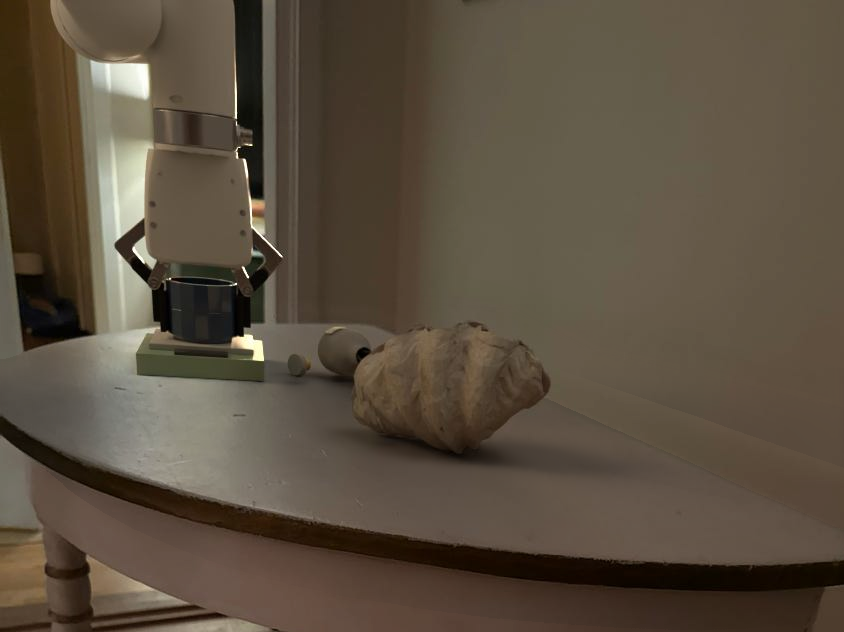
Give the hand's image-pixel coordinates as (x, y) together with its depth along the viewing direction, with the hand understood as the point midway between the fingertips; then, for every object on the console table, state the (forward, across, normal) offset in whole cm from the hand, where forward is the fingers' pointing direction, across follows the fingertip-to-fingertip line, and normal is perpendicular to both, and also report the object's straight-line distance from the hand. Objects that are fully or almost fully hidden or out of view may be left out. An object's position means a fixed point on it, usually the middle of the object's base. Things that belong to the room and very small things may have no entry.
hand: (203, 331), depth 94 cm
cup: (+1, 0, 0) cm, 1 cm away
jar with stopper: (+4, -16, +10) cm, 19 cm away
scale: (+3, 0, +1) cm, 3 cm away
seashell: (+4, -20, +29) cm, 35 cm away
